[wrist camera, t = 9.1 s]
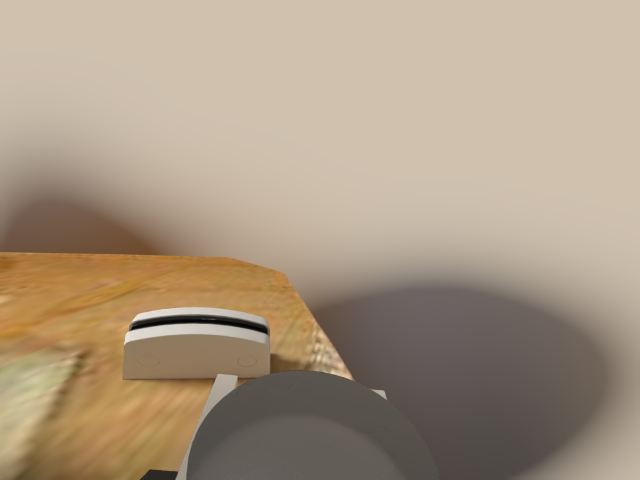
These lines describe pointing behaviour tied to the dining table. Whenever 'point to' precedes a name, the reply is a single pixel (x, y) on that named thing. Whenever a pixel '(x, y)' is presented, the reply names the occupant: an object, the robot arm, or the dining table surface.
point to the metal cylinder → (307, 433)
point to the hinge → (196, 344)
